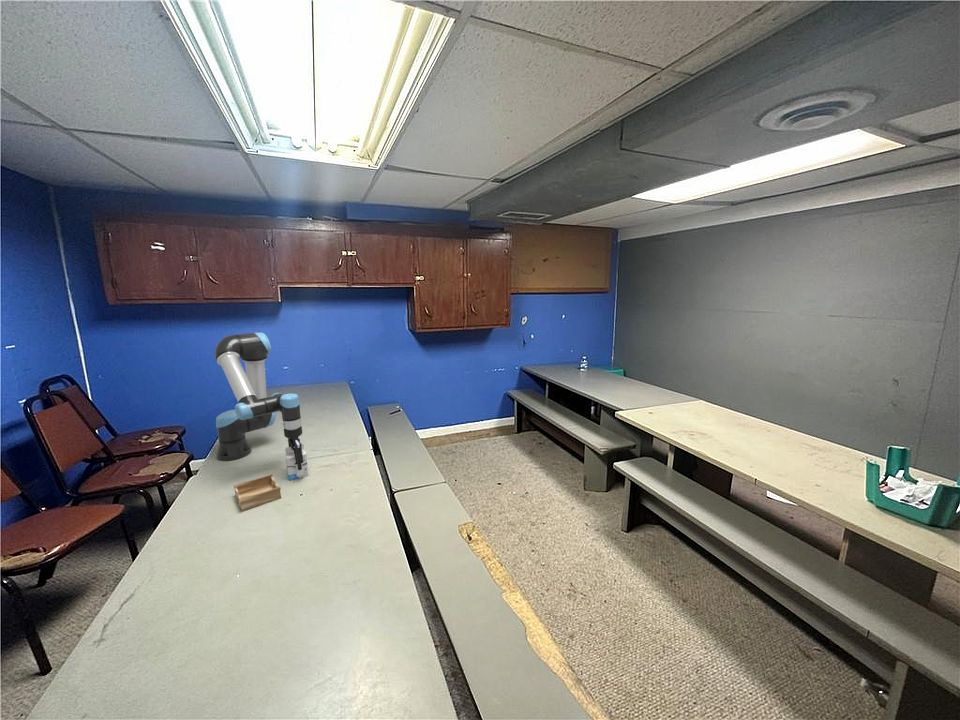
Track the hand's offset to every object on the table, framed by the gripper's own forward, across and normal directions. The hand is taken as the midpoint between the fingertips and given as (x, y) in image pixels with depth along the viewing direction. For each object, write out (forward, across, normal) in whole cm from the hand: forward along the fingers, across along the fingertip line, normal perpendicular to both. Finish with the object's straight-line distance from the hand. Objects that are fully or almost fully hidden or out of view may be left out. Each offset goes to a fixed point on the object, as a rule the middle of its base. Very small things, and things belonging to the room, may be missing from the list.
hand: (297, 472), depth 174 cm
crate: (+2, +7, -18) cm, 19 cm away
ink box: (+2, 0, 0) cm, 2 cm away
